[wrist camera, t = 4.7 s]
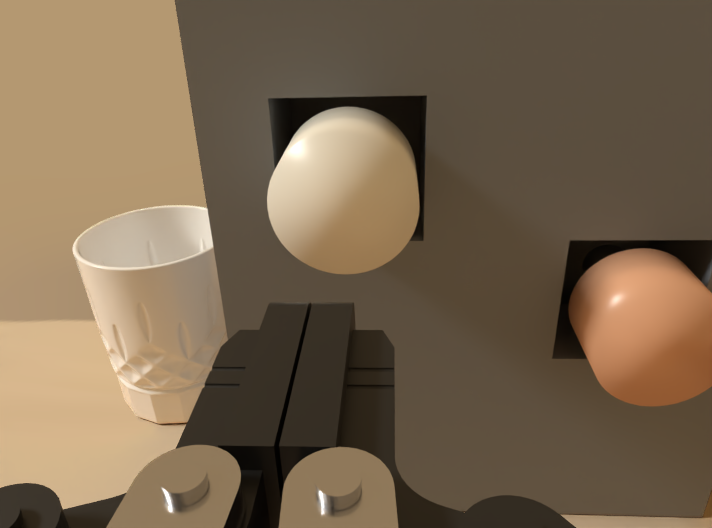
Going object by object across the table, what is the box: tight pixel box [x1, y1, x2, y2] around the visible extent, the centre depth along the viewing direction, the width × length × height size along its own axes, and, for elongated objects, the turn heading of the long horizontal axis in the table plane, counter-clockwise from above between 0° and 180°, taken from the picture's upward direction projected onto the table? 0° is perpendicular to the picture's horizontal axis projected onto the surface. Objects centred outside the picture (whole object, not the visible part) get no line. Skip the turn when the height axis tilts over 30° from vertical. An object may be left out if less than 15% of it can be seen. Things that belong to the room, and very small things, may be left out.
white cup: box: [73, 205, 228, 424], centre depth 33 cm, size 8×8×10 cm
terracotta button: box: [568, 244, 712, 406], centre depth 22 cm, size 6×4×4 cm
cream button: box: [267, 107, 420, 274], centre depth 20 cm, size 6×4×4 cm
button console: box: [175, 0, 712, 517], centre depth 25 cm, size 7×20×22 cm, turn 87°
